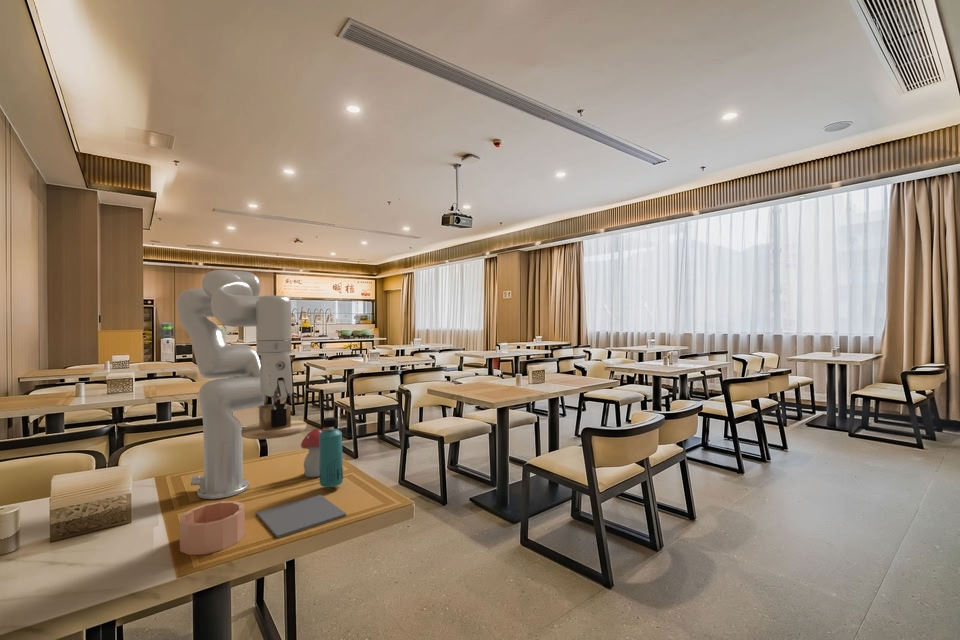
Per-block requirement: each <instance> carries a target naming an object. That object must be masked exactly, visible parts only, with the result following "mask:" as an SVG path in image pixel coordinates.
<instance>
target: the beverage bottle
mask: <svg viewBox="0 0 960 640" xmlns="http://www.w3.org/2000/svg"><path fill="white" fill-rule="evenodd" d="M337 426H339V421H338V418H337V417H326V418H323V420H322V428H323V427H330V429H326V430H323V431H322V432H321V433H320V434H319V454H320V457H319V466H320V468H319V469H320V475H319V476H318V478H319V484H320V486H321V487H323V488H333V487H334V488H335V487H337V486H340V485H342V484H343V480H344V465H343V461H344V460H343V432H342V431H341V430H340V429H338V428H333V427H337Z"/></svg>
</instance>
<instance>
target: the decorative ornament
mask: <svg viewBox="0 0 960 640" xmlns="http://www.w3.org/2000/svg"><path fill="white" fill-rule="evenodd" d="M326 429H331V427H323V426H322V429H319V428H316V429H313V430H311V431H309V432H308V433H307V435H306V436H305V437H304V438H303V440H301V444H300V447H301V448H302V449H304V450H305V449H307V450H309V451H308V453H307V454H306V456H305V458H304V460H303V469H304V473H303V476H304V477H305V478H319V475H320V469H319V468H320V466H319V457H320V454H319V434H320V433H321V432H322V431H323V430H326Z"/></svg>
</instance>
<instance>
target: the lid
mask: <svg viewBox="0 0 960 640" xmlns="http://www.w3.org/2000/svg"><path fill="white" fill-rule="evenodd" d="M286 406H287V408H286V418H287V424H286V426H281V427H275V428H273V427H271V410H273V407H272V404H269V405H261V406H259V407H258V415H259V416H258V419H259V420H258V421H259V422H258V423H254V424H251V425H248V426H245V427H242V430H241V433H242V437H243V439H244V438H245V439H250V440H269V439H271V440H272V439H279V438H286V437H290V436H294V435H299V434H301V433H303V432H305V431H307V429H308V428H307V427H308V424H307V422H306V421H303V420H298V419H297V420H296V419H292V417H291V416H292V415H291V405H290V404H287V403H286Z"/></svg>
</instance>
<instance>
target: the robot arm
mask: <svg viewBox="0 0 960 640" xmlns="http://www.w3.org/2000/svg"><path fill="white" fill-rule="evenodd" d="M260 293H261V283H260V279H259V278H258V276H257V275H255V274H254V273H252V272H250V271H244V270H241V271H240V270H231V269H229V270H228V269H215V270H212V271H211V270H210V271H209V272H207V273H206V274H205V275H203V277H202V280H201V287H199V288H190V289H185V290H184V291H182V292H181V293H179V295H178V297H177V301H176V309H177V315H178V319H179V321H180V324H181V326H182V327H183V329H184V330H185V332H186V334H187V335H188V338H189V339H190V342H191V345H192V350H193V353H194V358H195V362H196V366H197V370H198V371H199V374H200V375H201V376H202V377H203V378H205V379H212V380H208V381H207V382H205V383H203V385H201V386H200V389H199V391H198V400H199V406H200V410H201V417H202V424H203V425H202V427H203V431H202V432H203V436H202V437H203V475H193V476H192V477H191V479H190V486H198V487H199V488H198V489H197V496H198V498H201V499H205V500H217V499H224V498H229V497H232V496H233V497H234V496H235V495H236V496H237V495H239V494H241V493H243V492H244V491H246V490H248V489H249V487H250V481H249V480H248V479H246V478H245V479H244V455H243V453H244V450H243V449H244V448H243V447H244V446H243V442H244V440H243V439H244V437H242V433H241V430H242V429H243V425H242V423H241V421H240V420H239V419H238V418H237V417H236V416H235V415H234V413H233V412H237V411H241V410H248V409H249V410H250V409H255V408H259V406H261V405H269V404H272V407H273V410H271V427H273V428H275V427H281V426H286V424H287V418H286V408H287V406H286V404H287V398H288V396H292V394H293V375H292V362H291V356H290V354H292V304H291V303H292V302H291V299H290V298H289V297H288V296H285V295H261V296H260ZM209 318H215V319H216V320H217V321H218V322H219V323H221V324H223V325H224V326H226V327H232V328H241V327H242V328H243V327H244V328H245V327H246V328H247V327H248V328H249V327H255V329H256V331H255V333H256V335H255V336H256V346H255V347H256V349H255V347H253V346H251V345H248V344H228V343H227V340H226V338H225V333H224V332H223V330H222V329H221V328H220V327H219V326H218V325H217V324H216V323H215V322H213V321H211V320H210V319H209Z"/></svg>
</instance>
